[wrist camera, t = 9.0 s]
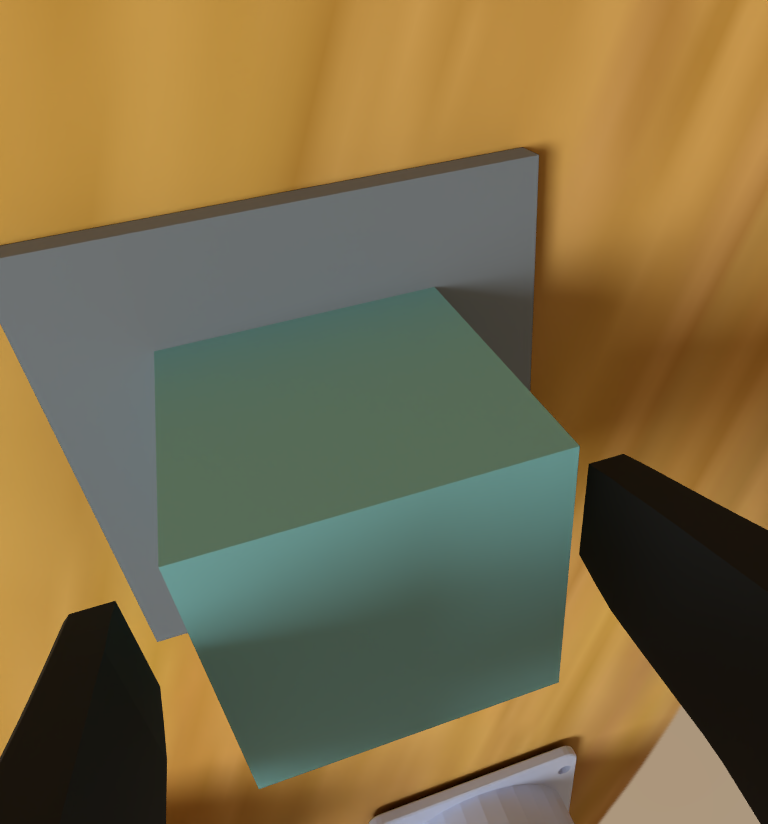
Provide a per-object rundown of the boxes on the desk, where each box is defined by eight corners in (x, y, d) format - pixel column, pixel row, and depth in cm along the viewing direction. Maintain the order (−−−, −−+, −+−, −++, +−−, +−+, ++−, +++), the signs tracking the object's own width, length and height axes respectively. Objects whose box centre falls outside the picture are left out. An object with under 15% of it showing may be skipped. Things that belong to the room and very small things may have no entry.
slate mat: (514, 514, 17) (524, 530, 16) (156, 621, 15) (157, 641, 15) (522, 147, 12) (539, 154, 11) (-22, 249, 10) (-30, 264, 9)
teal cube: (447, 491, 15) (558, 681, 11) (227, 554, 14) (258, 789, 10) (434, 286, 12) (580, 446, 8) (154, 351, 11) (158, 567, 7)
